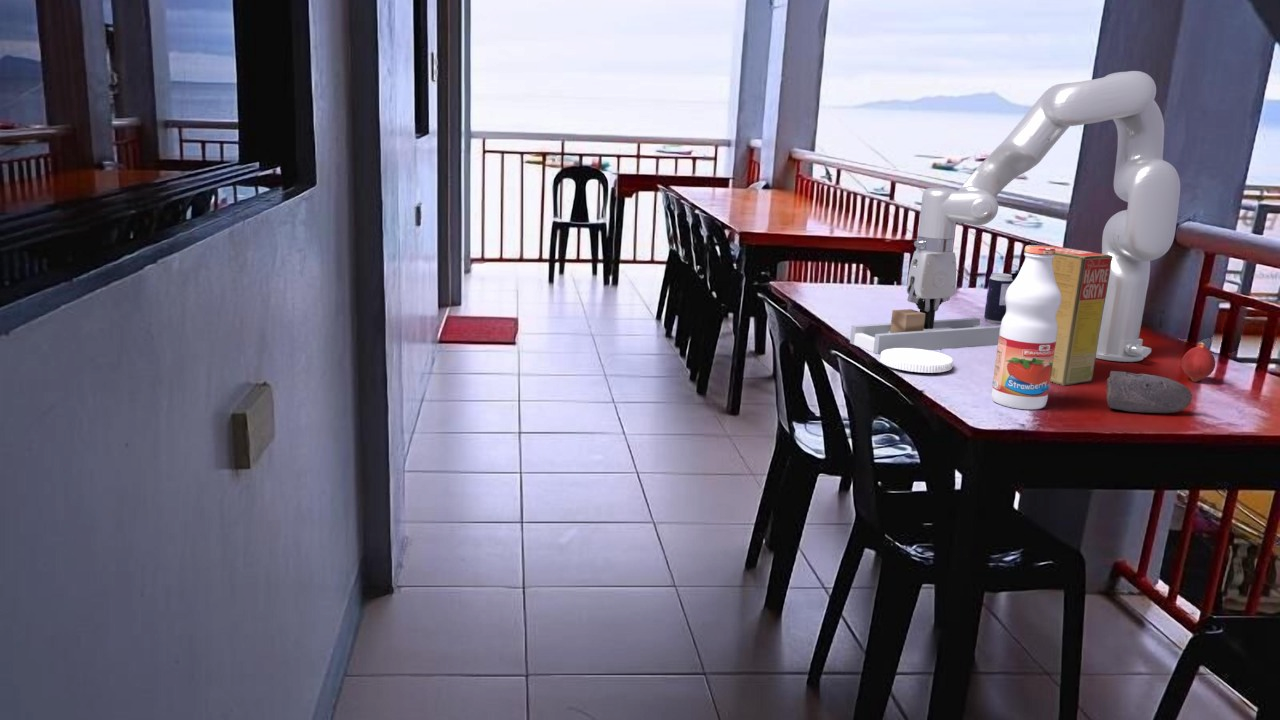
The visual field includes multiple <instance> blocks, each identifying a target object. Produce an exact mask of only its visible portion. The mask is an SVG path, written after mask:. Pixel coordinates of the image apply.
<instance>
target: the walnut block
mask: <svg viewBox="0 0 1280 720" xmlns="http://www.w3.org/2000/svg"><path fill="white" fill-rule="evenodd" d="M924 322H925V313H922V312H920V310H919V311H918V310H914V309H911V308H908V309H905V308H904V309H892V312H891V320H890V323H891V329H890V332H891V333H898V332H913V331H924Z"/></svg>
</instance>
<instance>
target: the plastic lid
mask: <svg viewBox="0 0 1280 720" xmlns="http://www.w3.org/2000/svg"><path fill="white" fill-rule="evenodd" d="M953 360H954V359H953V358H952V357H951V356H950V355H947V354H945V353H943V352H942V353H941V352H937V351H936V350H935V351H934V350H923V349H914V348H893V349H887V350H884V351H882V352H881V354H880V360H879V361H880V363H882V364H883V365H884V366H887V367H889V368H892V369H897V370H900V371H901V370H902V371H906V372H911V373H913V372H914V373H925V374H926V373H928V374H929V373H931V374H933V373H945V372H947V371H948V372H949V371H950V370H952V368H953V362H954V361H953Z"/></svg>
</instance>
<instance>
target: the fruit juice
mask: <svg viewBox="0 0 1280 720" xmlns="http://www.w3.org/2000/svg"><path fill="white" fill-rule="evenodd" d="M1023 250H1024V251H1023V252H1024V253H1023V255H1024V257H1025V258H1024V261H1023V263H1022V266H1021V267H1020V270H1019V272H1018V274H1017V276H1016V277H1015V278H1014V279H1013V282H1012V283H1011V285H1010V286H1009V287H1008V289H1007V291H1006V295H1005V303H1006V313H1005V315H1004V317H1003V319H1002V322H1001V324H1000V325H999V326H1000V332H999V340H998V345H997V349H996V356H995V364H994V369H993V370H994V371H993V379H992V385H991V396H990V397H991V400H992V402H994V403H997V404H999V405H1001V406H1004V407H1008V408H1012V409H1018V410H1040V409H1043V408H1045V407H1046V405H1047V402H1048V400H1049V399H1048V398H1049V392H1050V385H1051V384H1050V383H1051V382H1050V379H1051V372H1052V366H1053V359H1054V352H1055V346H1056V340H1057V330H1058V325H1057V321H1056V314H1057V312H1058V310H1059V307H1060V305H1061V292H1060V290H1059V288H1058V286H1057V283H1056V280H1055V276H1054V271H1053V266H1052V259H1053V258H1054V255H1055V248H1053V247H1048V246H1047V245H1037V244H1036V245H1035V244H1031V245H1030V244H1029V245H1026V246H1025V247H1024V249H1023Z"/></svg>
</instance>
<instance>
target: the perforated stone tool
mask: <svg viewBox="0 0 1280 720" xmlns="http://www.w3.org/2000/svg"><path fill="white" fill-rule="evenodd" d="M1105 392H1106V402H1107V405H1108V407H1109V408H1110V409H1113V410H1118V411H1123V412H1130V413H1140V414H1141V413H1142V414H1143V413H1144V414H1172V413H1177V412H1181V411H1183V410H1185V409H1187V408H1188V407H1189V405H1191V402H1192V400H1193V399H1192V397H1193V394H1192V391H1191V390H1190V389H1189V388H1188V387H1187V386H1185V385H1184V384H1183V383H1181V382H1178V381H1176V380H1173V379H1170V378H1167V377H1163V376H1160V375H1154V374H1152V375H1151V374H1147V373H1138V374H1137V373H1133V372H1129V371H1128V372H1127V371H1119V370H1111V371H1110V373H1109V377H1108V378H1107V379H1106V389H1105Z"/></svg>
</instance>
